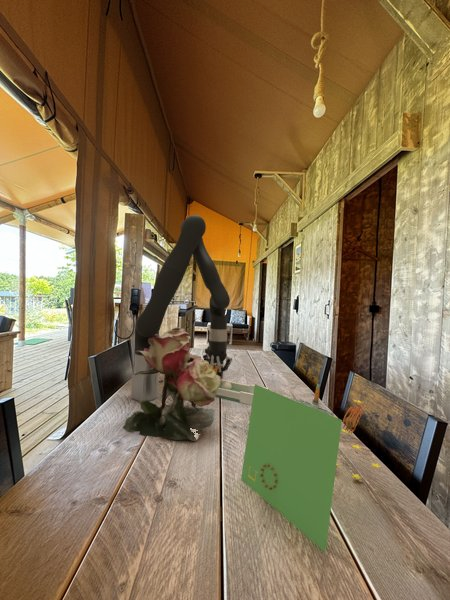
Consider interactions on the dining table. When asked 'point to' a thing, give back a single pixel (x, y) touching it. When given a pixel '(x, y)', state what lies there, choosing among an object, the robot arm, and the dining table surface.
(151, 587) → the dining table surface
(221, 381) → the orange upright block
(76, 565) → the dining table surface
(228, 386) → the ball
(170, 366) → the rose bouquet
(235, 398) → the cream tray
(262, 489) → the green panel with ring
